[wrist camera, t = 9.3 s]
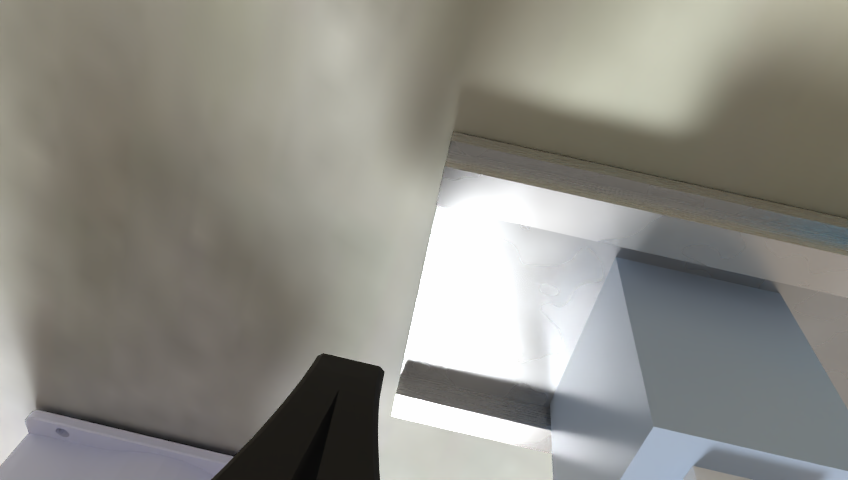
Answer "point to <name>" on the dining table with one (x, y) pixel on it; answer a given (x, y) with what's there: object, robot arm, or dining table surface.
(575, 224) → the rail bed
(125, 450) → the robot arm
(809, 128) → the dining table surface
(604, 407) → the block
